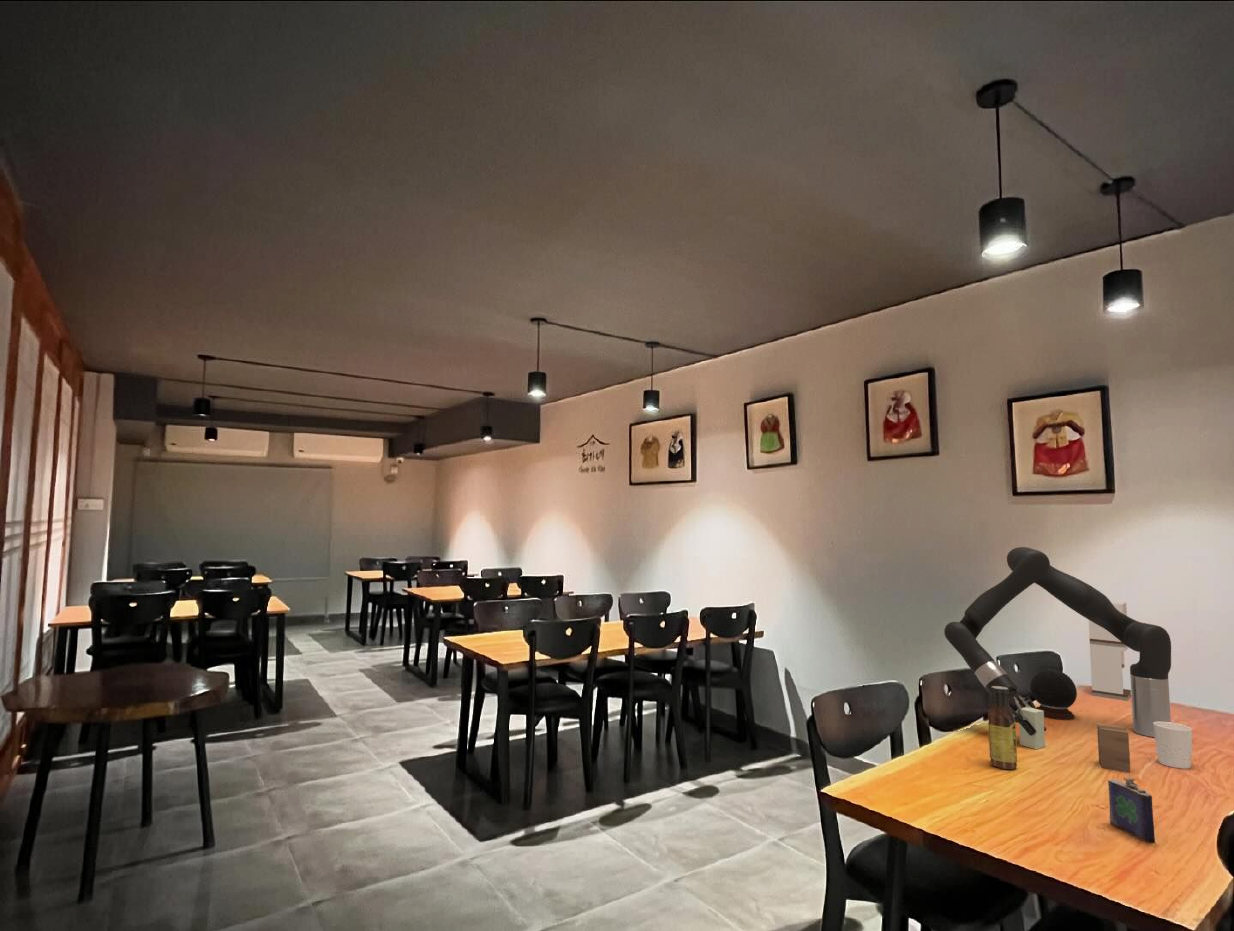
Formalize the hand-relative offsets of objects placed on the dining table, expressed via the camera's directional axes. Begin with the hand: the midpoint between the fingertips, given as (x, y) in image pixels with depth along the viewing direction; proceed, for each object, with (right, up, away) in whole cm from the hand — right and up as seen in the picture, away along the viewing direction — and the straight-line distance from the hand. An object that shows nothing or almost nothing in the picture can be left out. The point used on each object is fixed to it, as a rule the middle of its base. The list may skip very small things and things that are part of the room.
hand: (1038, 732), depth 188 cm
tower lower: (+10, -3, -15) cm, 18 cm away
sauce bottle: (-19, -3, -16) cm, 25 cm away
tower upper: (+10, +2, -14) cm, 18 cm away
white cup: (+28, -4, -12) cm, 31 cm away
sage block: (-1, -4, +1) cm, 5 cm away
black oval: (+27, -8, +34) cm, 44 cm away
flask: (-15, +1, -53) cm, 55 cm away
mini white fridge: (+68, -12, +64) cm, 94 cm away
